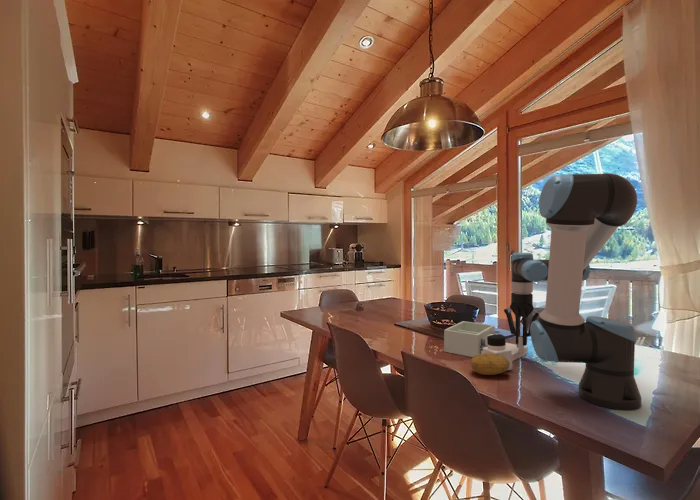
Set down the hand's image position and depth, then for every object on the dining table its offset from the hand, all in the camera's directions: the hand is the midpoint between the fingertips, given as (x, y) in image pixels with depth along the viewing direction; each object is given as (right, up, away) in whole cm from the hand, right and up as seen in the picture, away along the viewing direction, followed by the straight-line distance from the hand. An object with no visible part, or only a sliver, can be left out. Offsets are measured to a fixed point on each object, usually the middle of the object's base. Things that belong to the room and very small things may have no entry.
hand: (521, 353), depth 147 cm
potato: (-19, -3, -17) cm, 25 cm away
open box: (-15, -2, +11) cm, 19 cm away
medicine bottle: (-14, -3, -12) cm, 18 cm away
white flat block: (-5, -2, +4) cm, 7 cm away
